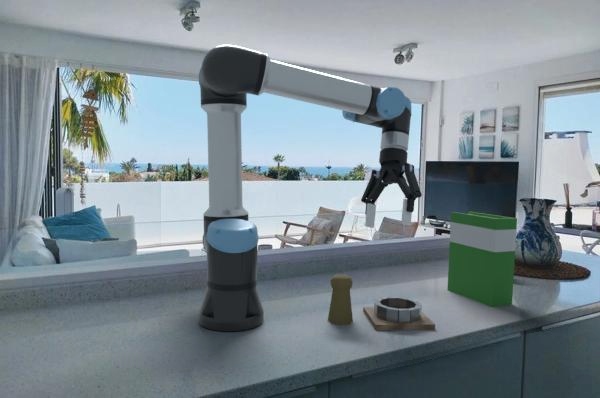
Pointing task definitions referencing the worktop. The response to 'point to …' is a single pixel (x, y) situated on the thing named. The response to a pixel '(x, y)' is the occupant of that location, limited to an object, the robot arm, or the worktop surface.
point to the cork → (340, 300)
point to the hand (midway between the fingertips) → (386, 226)
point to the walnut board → (386, 325)
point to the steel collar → (397, 309)
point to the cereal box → (482, 257)
